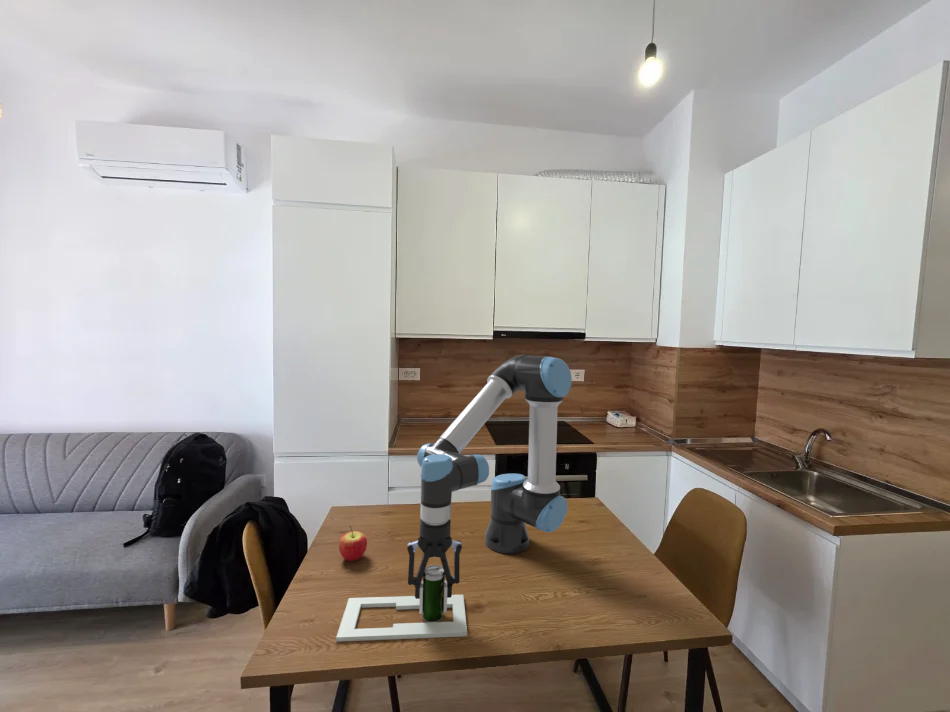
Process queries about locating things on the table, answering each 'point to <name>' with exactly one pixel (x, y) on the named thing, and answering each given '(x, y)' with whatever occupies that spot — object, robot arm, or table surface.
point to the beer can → (433, 593)
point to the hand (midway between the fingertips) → (433, 609)
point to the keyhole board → (402, 629)
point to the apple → (352, 545)
